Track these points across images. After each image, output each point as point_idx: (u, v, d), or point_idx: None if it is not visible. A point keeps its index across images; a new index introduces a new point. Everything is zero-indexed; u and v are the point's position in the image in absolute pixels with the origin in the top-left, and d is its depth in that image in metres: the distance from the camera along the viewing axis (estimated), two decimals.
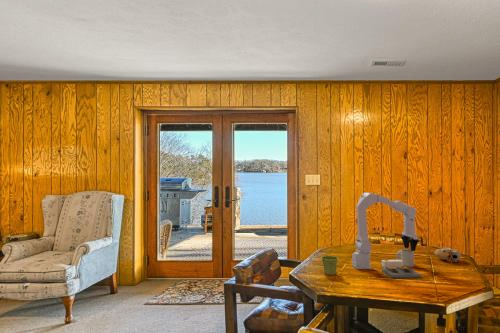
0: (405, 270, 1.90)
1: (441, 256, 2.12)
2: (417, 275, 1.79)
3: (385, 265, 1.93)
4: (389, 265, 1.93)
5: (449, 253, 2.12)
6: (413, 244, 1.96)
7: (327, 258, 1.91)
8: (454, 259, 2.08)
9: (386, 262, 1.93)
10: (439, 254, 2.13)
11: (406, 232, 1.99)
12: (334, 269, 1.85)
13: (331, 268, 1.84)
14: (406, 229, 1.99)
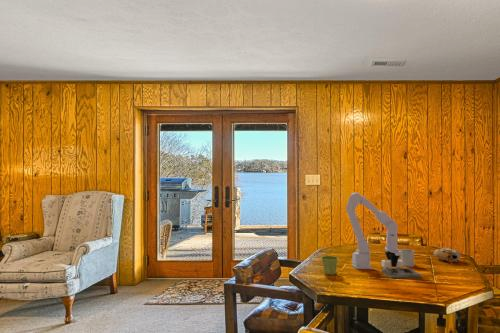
0: (405, 270, 1.90)
1: (441, 256, 2.11)
2: (417, 275, 1.79)
3: (385, 265, 1.93)
4: (389, 265, 1.93)
5: (448, 253, 2.11)
6: (394, 259, 1.92)
7: (327, 258, 1.91)
8: (454, 259, 2.07)
9: (386, 262, 1.93)
10: (439, 254, 2.12)
11: (388, 248, 1.94)
12: (334, 269, 1.85)
13: (331, 268, 1.84)
14: (388, 245, 1.94)
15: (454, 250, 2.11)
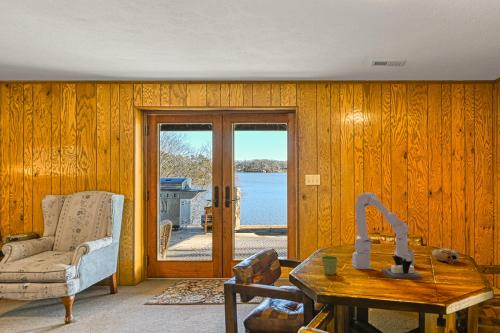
0: None
1: (440, 257, 2.09)
2: (417, 275, 1.79)
3: (395, 271, 1.81)
4: (399, 271, 1.81)
5: (447, 254, 2.10)
6: (406, 266, 1.79)
7: (327, 258, 1.91)
8: (453, 260, 2.06)
9: (396, 268, 1.81)
10: (438, 255, 2.11)
11: (398, 252, 1.82)
12: (334, 269, 1.85)
13: (331, 268, 1.84)
14: (398, 249, 1.82)
15: (453, 250, 2.10)
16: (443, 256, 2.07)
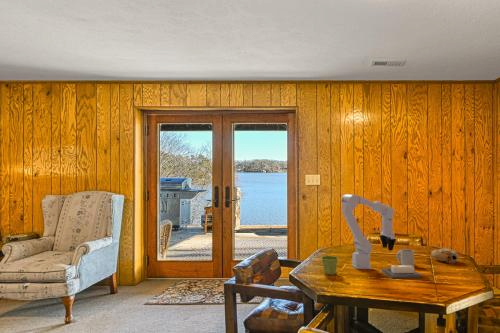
0: None
1: (440, 257, 2.08)
2: (417, 275, 1.79)
3: (395, 271, 1.81)
4: (399, 271, 1.81)
5: (447, 254, 2.09)
6: (390, 244, 1.99)
7: (327, 258, 1.91)
8: (453, 260, 2.06)
9: (396, 268, 1.81)
10: (437, 255, 2.10)
11: (384, 232, 2.02)
12: (334, 269, 1.85)
13: (331, 268, 1.84)
14: (384, 229, 2.02)
15: (452, 251, 2.09)
16: (443, 256, 2.06)
